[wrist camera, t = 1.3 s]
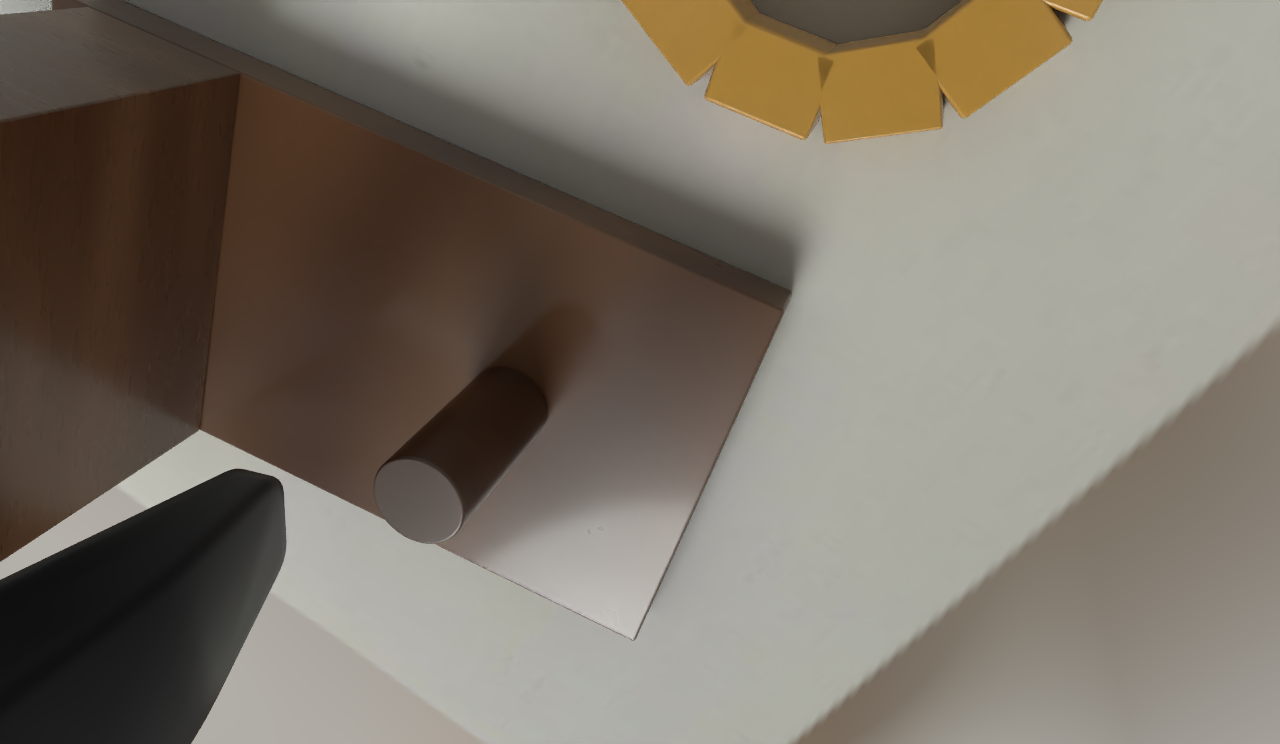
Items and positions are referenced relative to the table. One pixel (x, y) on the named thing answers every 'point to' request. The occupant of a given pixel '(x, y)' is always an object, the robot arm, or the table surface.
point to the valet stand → (345, 314)
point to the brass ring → (856, 63)
